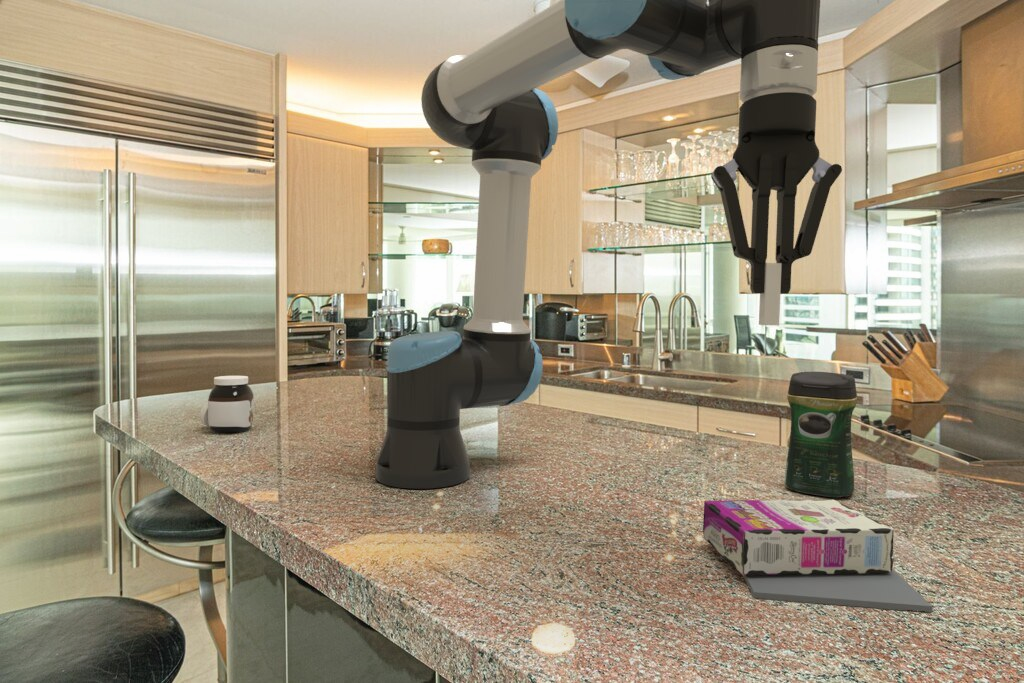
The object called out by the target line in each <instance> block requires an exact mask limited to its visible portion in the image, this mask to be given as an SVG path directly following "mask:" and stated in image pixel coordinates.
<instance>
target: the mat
mask: <svg viewBox="0 0 1024 683" xmlns="http://www.w3.org/2000/svg"><path fill="white" fill-rule="evenodd" d="M742 577H743V578H744V581H745V583H746V585H747V587H748V589H749V591H750V594H751V596H752V597H753V599H761V600H770V601H771V600H773V601H785V602H787V601H788V602H798V603H811V604H822V605H823V604H825V605H834V606H835V605H836V606H846V607H861V608H869V609H870V608H871V609H883V610H884V609H885V610H896V611H899V610H900V611H907V610H913V611H912V612H919V611H925V612H924V613H931V612H932V613H933V608H934V606H933V605H932V604H931V603H930V602H929V601H928V600H926V598H924V597H923V596H922V595H921V593H919V592H918V591H917V590H916V589H915V588H914V587H913V586H912V585H911V584H910V583H909V582H907V580H906V579H904V578H903V577H902V576H901V575H900V574H899V573H898V572H897V571H896V570H895V569H894V568H892V573H855V574H778V575H742ZM914 610H916V611H914ZM917 610H918V611H917Z"/></svg>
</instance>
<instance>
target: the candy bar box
mask: <svg viewBox="0 0 1024 683" xmlns="http://www.w3.org/2000/svg"><path fill="white" fill-rule="evenodd" d="M702 520H703V524H702V536H703V540H705V541H706V542H707V543H708V544H709V545H710V546H711V547H712V548H713V549H715V550H716V551H717V552H718V553H719V554H720V555H721V556H722V557H723V558H724V559H725V560H726V561H727V562H728V563H730V564H731V566H733V568H734V569H736V570H737V571H738V572H739V573H740V574H741V575H742V576H743V575H778V574H855V573H892V569H894V559H893V556H894V537H895V536H894V535H895V530H894V529H893V528H891V527H889V526H888V525H885V524H884V523H881V522H880V521H877V520H875V519H873V518H871V517H869V516H867V515H866V514H864V513H861V512H859V511H857V510H856V509H853V508H851V507H849V506H847V505H845V504H843V503H841V502H839V501H837V500H835V499H816V500H815V499H805V500H804V499H790V500H789V499H786V500H785V499H784V500H783V499H781V500H780V499H774V500H773V499H771V500H769V499H767V500H763V499H760V500H756V499H755V500H754V499H753V500H743V499H742V500H741V499H740V500H738V499H737V500H704V501H703V519H702Z"/></svg>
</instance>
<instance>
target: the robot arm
mask: <svg viewBox="0 0 1024 683" xmlns="http://www.w3.org/2000/svg"><path fill="white" fill-rule="evenodd" d="M820 11H821V0H558V1H557V2H555V3H553V4H552V5H550V6H549V7H546V8H545V9H543V10H542V11H540V12H537V13H536V14H535V15H534V16H532V17H530V18H529V19H527V20H525V21H523V22H522V23H519V24H518V25H516V26H515V27H514V28H512V29H510V30H509V31H507V32H505V33H504V34H502V35H500V36H498V37H496V38H495V39H493V40H492V41H490V42H489V43H486V44H485V45H483V46H482V47H480V48H478V49H476V50H475V51H473V52H472V53H470V54H468V55H465V54H457V55H456V54H455V55H452V56H450V57H448V58H447V59H445V60H443V61H442V62H441V63H440V64H438V65H436V66H435V67H434V68H433V70H432V71H430V73H429V74H428V76H427V78H426V79H425V82H424V83H423V87H422V90H421V109H422V113H423V117H424V119H425V122H426V123H427V125H428V126H429V128H430V129H431V130H432V132H433V133H434V134H435V135H436V136H437V137H438V138H439V139H440V140H442V141H444V142H445V143H447V144H449V145H452V146H455V147H457V148H462V149H468V150H471V166H472V167H473V168H474V169H475V171H477V173H478V175H479V191H478V194H479V195H478V209H477V211H478V212H477V230H476V245H475V246H476V248H475V270H474V287H473V304H472V306H473V307H472V317H471V319H470V320H468V322H467V323H465V324H464V326H463V327H462V329H463V331H462V337H461V334H460V332H458V331H453V330H437V331H426V332H419V333H413V334H407V335H403V336H399V337H397V338H395V339H393V340H392V341H391V342H390V344H388V351H387V362H386V367H385V369H386V387H387V388H386V392H387V393H386V396H387V397H386V404H387V405H386V408H387V409H386V410H387V411H386V412H387V413H386V415H387V416H386V417H387V419H386V420H387V421H386V422H387V423H386V424H387V425H386V432H385V436H384V439H383V442H382V445H381V448H380V451H379V453H378V458H377V460H376V462H375V463H376V464H375V479H376V480H377V481H378V482H379V483H380V484H382V485H386V486H389V487H394V488H401V489H402V488H403V489H417V490H423V489H427V490H428V489H439V488H440V489H441V488H445V487H450V486H456V485H458V484H462V483H464V482H466V481H467V480H469V478H471V477H470V476H471V462H470V459H469V456H468V452H467V449H466V446H465V442H464V439H463V437H462V432H461V430H460V429H461V428H460V425H461V424H460V423H461V422H460V420H461V415H460V414H461V410H464V409H465V410H466V409H474V408H484V407H496V406H499V407H506V406H510V405H514V404H519V403H522V402H525V401H527V400H528V399H529V398H530V397H531V396H532V395H534V394H535V391H536V390H537V389H538V386H539V385H540V382H541V379H542V376H543V370H544V369H543V368H544V365H543V364H544V363H543V356H542V353H540V351H541V350H540V347H539V345H538V344H537V343H536V342H535V341H534V340H533V339H531V332H532V330H531V329H530V328H529V327H528V325H527V324H526V323H525V322H524V320H523V317H524V302H525V300H524V299H525V287H526V267H527V253H528V236H529V220H530V219H529V217H530V204H531V203H530V202H531V188H532V186H531V185H532V178H533V177H534V175H536V174H537V173H538V172H539V171H540V170H541V169H542V161H543V160H545V159H546V158H548V157H549V156H550V154H552V152H553V146H555V145H556V143H557V140H558V139H557V138H558V133H559V118H558V113H557V109H556V107H555V104H554V103H553V100H551V98H550V97H549V96H548V94H547V93H546V92H545V91H543V90H541V89H538V88H539V87H541V86H543V85H546V84H548V83H550V82H552V81H554V80H556V79H558V78H560V77H563V76H565V75H567V74H569V73H572V72H573V71H577V70H578V69H580V68H582V67H585V66H587V65H589V64H591V63H593V62H595V61H597V60H599V59H603V58H604V57H607V56H609V55H612V54H614V53H616V52H618V51H621V50H629V51H632V52H635V53H638V54H641V55H644V56H647V58H648V61H649V63H650V65H651V67H652V68H653V70H656V71H657V73H658V75H659V76H660V78H663V79H664V80H665V79H666V80H669V81H675V80H676V81H677V80H681V79H685V78H692V77H695V76H699V75H700V74H703V73H705V72H707V71H709V70H712V69H715V68H718V67H721V66H724V65H726V64H729V63H732V62H734V61H737V60H740V63H741V64H740V82H739V100H740V101H741V102H742V104H741V105H740V107H739V111H738V137H737V141H738V142H737V147H736V149H735V150H734V153H733V154H732V159H731V160H729V161H728V162H726V163H725V164H722V165H717V166H716V167H715V168H714V170H713V171H712V173H711V175H710V177H711V178H710V179H711V180H712V181H713V183H714V185H715V186H716V188H717V189H718V191H719V192H720V196H721V201H722V205H723V206H722V207H723V211H724V215H725V219H726V225H727V230H728V233H729V238H730V242H731V248H732V252H733V253H732V254H733V256H734V257H736V258H738V259H742V260H745V261H747V262H748V263H749V264H750V288H749V289H750V291H751V294H759V307H758V309H759V310H758V312H759V313H758V325H760V326H777V327H778V326H780V317H781V316H780V314H781V295H782V294H783V295H787V294H789V293H790V291H791V288H792V287H791V286H792V282H791V281H792V267H793V266H792V265H793V263H794V262H795V261H797V260H800V259H803V258H805V257H807V256H810V255H811V253H812V251H813V248H814V245H815V241H816V237H817V234H818V231H819V227H820V223H821V221H822V217H823V213H824V210H825V208H826V207H825V206H826V204H827V202H828V201H827V200H828V198H829V194H830V191H831V187H832V186H833V184H834V183H835V182H836V180H837V179H838V178H839V177H840V175H841V173H842V171H843V167H842V166H841V165H840V164H838V163H834V164H831V163H830V162H828V161H826V160H825V159H824V158H822V157H821V156H820V149H819V148H818V147H819V146H817V144H816V125H817V124H816V123H817V122H816V121H817V120H816V119H817V100H816V98H814V95H815V94H816V93H817V91H818V68H819V66H818V64H819V63H818V59H819V58H818V56H819V55H818V54H819V30H820V29H819V27H820ZM811 169H812V170H813V173H812V176H811V179H812V181H813V182H814V183H813V186H812V188H811V190H810V193H809V196H808V200H807V204H806V207H805V211H804V214H803V218H802V221H801V224H800V227H799V232H798V234H797V238H796V241H795V216H796V215H795V214H796V196H797V192H798V185H799V184H800V183H801V182H802V181H803V180H804V178H805V177H806V176H807V174H808V173H809V172H810V171H811ZM737 171H738V173H740V175H741V177H742V178H743V179H744V180H745V182H746V183H747V184H748V187H750V188H751V200H752V206H751V207H752V211H751V213H752V214H751V235H750V236H751V237H750V246H749V242H748V237H747V232H746V228H745V222H744V219H743V213H742V208H741V205H740V200H739V194H738V190H737V187H736V184H735V181H736V180H737V178H738V177H737V176H738V175H737ZM772 191H776V201H777V202H776V205H777V206H776V207H777V208H776V210H777V211H776V234H775V235H776V238H775V261H776V262H767V259H768V243H769V242H768V240H769V239H768V238H769V216H770V196H771V192H772ZM794 242H795V243H794Z"/></svg>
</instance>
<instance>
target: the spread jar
mask: <svg viewBox="0 0 1024 683" xmlns="http://www.w3.org/2000/svg"><path fill="white" fill-rule="evenodd" d="M213 384H214V386H213V388H212V389H211V391H210V393H209V394H208V399H207V400H208V401H207V402H206V403H204V405H203V406H202V408H201V410H200V414H199V418H200V422H201V423H202V424H203V425H205V426H207V427H209V429H210V431H212V432H213V433H215V434H219V435H233V434H234V435H235V434H242V433H247V432H248V431H250V429H251V428H252V426H253V423H254V419H255V418H254V417H255V415H254V414H255V403H254V402H255V399H254V398H255V397H254V392H253V389H252V388H251V386H249V376H248V375H221V376H215V377H213Z"/></svg>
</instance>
